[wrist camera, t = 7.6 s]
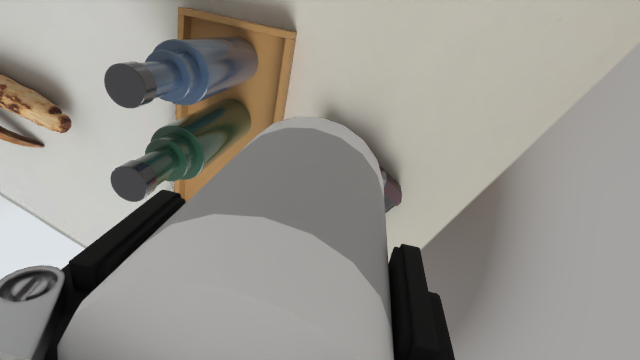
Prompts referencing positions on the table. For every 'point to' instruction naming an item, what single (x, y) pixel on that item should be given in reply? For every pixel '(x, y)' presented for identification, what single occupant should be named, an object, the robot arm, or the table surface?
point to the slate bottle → (183, 71)
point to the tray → (256, 94)
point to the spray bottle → (257, 262)
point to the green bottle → (183, 148)
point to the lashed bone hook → (29, 111)
